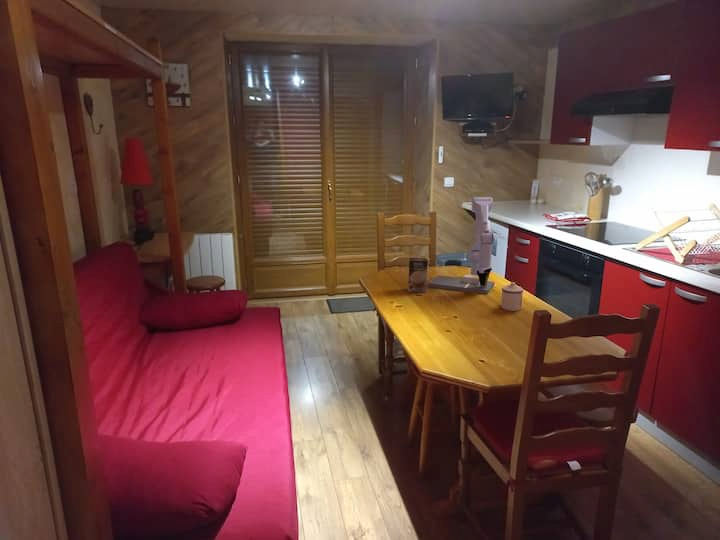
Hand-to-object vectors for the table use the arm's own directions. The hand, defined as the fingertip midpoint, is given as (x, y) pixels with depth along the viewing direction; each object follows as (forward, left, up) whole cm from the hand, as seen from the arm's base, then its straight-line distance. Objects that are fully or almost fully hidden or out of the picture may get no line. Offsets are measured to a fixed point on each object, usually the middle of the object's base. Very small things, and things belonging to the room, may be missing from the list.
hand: (483, 283), depth 241 cm
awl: (0, 0, -2) cm, 2 cm away
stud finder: (-7, -7, -2) cm, 10 cm away
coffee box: (+12, -30, -4) cm, 33 cm away
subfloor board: (-4, -12, -4) cm, 13 cm away
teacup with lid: (+18, +16, -4) cm, 24 cm away
